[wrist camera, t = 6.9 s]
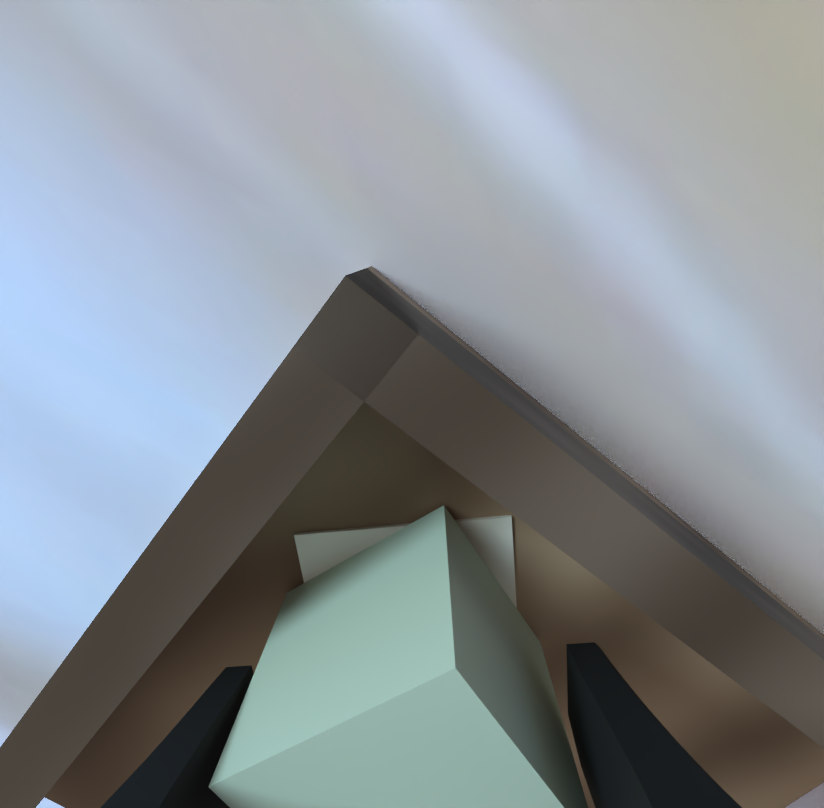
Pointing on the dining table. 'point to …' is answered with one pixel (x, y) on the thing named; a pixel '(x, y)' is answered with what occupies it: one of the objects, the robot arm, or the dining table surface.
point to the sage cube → (401, 690)
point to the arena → (395, 509)
